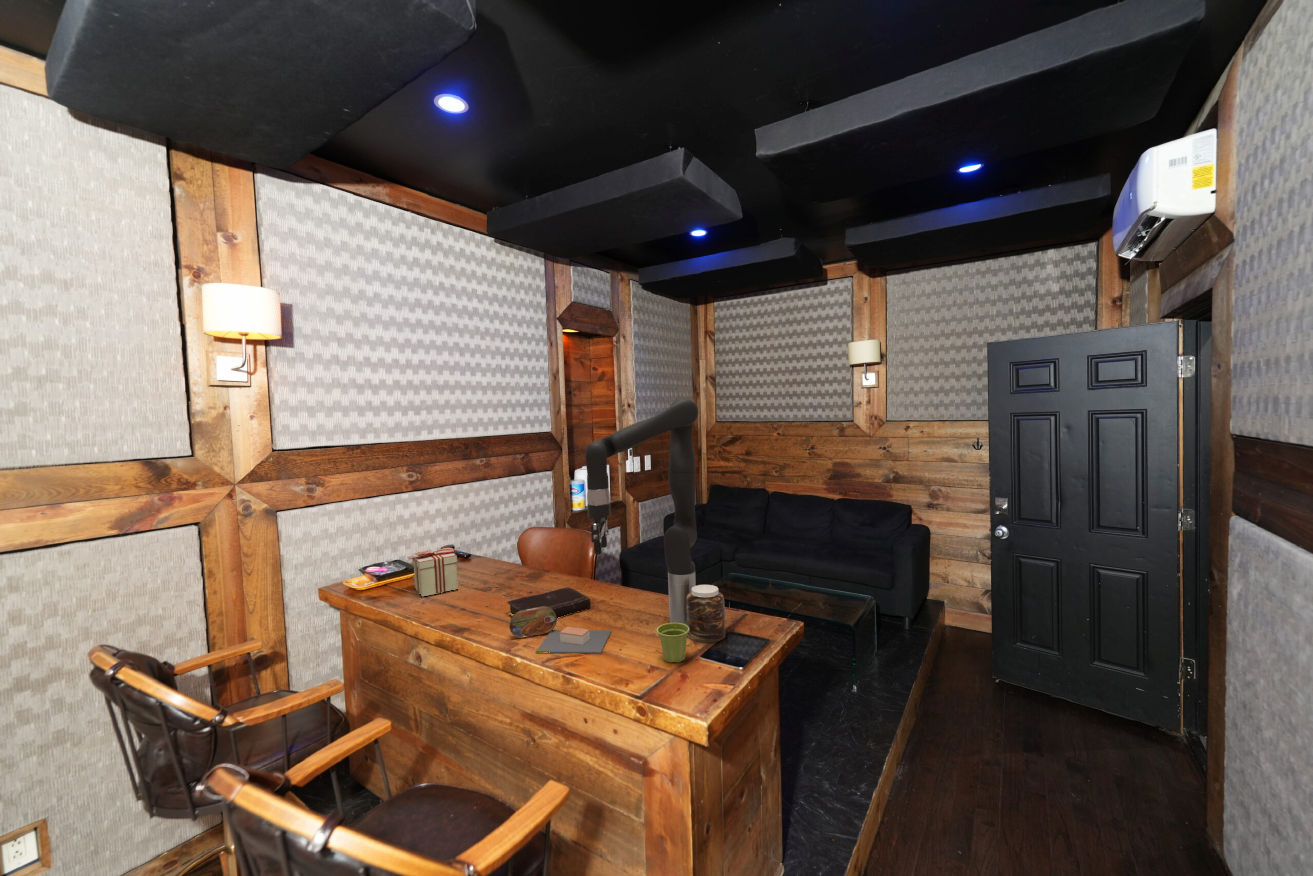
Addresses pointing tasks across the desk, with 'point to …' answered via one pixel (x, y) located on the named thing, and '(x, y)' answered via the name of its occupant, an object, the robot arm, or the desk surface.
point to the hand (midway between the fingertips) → (600, 550)
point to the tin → (533, 622)
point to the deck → (575, 635)
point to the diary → (553, 602)
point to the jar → (705, 614)
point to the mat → (591, 646)
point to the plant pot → (673, 641)
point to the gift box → (435, 571)
